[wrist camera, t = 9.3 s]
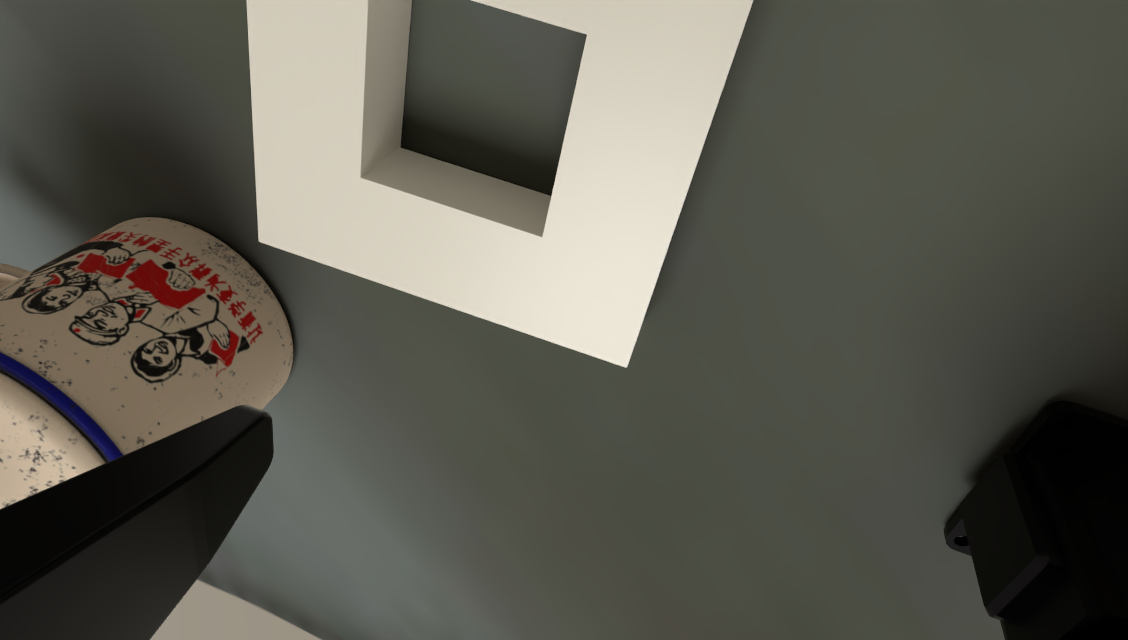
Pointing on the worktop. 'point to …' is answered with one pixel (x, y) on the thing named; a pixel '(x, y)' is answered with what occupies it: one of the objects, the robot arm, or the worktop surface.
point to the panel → (476, 201)
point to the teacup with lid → (129, 348)
